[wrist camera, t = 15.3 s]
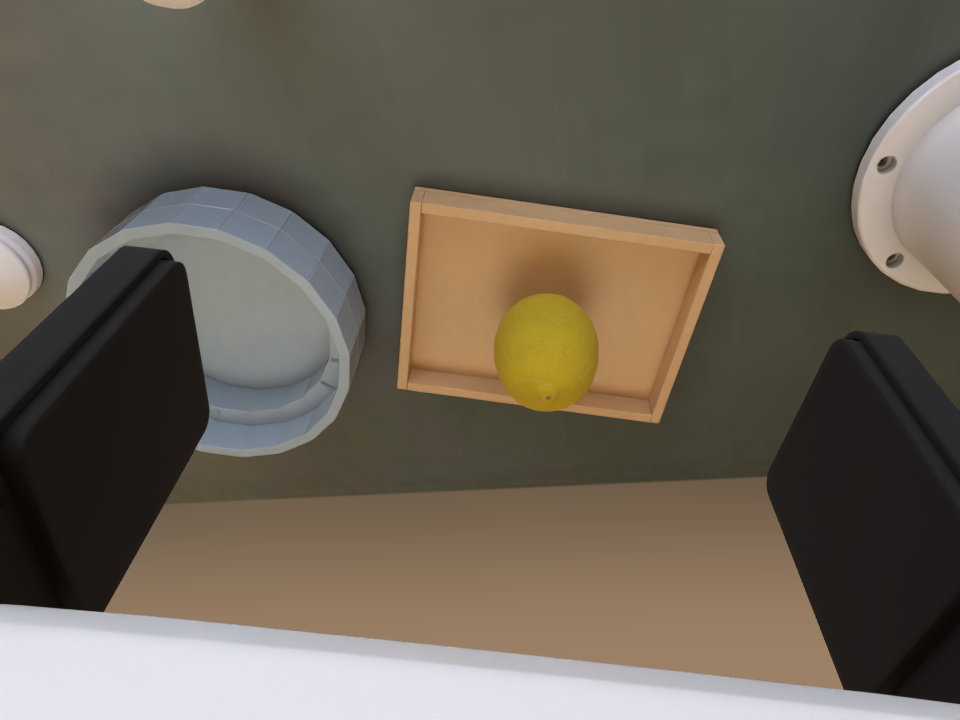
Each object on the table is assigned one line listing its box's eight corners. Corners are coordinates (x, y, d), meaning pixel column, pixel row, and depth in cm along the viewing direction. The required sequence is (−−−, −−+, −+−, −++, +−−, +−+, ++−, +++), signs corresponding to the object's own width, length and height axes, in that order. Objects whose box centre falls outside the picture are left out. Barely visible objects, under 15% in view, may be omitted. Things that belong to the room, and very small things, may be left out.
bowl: (371, 206, 37) (351, 248, 33) (363, 417, 46) (347, 471, 42) (86, 165, 36) (31, 203, 32) (135, 387, 45) (97, 438, 41)
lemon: (522, 362, 42) (521, 453, 35) (479, 291, 39) (470, 376, 32) (607, 329, 40) (623, 418, 34) (569, 252, 37) (578, 333, 31)
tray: (717, 228, 36) (725, 245, 35) (654, 403, 44) (659, 423, 42) (415, 185, 36) (410, 200, 34) (401, 369, 43) (396, 388, 42)
